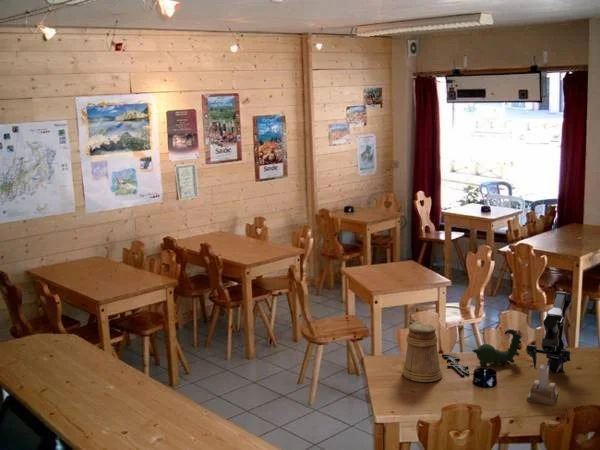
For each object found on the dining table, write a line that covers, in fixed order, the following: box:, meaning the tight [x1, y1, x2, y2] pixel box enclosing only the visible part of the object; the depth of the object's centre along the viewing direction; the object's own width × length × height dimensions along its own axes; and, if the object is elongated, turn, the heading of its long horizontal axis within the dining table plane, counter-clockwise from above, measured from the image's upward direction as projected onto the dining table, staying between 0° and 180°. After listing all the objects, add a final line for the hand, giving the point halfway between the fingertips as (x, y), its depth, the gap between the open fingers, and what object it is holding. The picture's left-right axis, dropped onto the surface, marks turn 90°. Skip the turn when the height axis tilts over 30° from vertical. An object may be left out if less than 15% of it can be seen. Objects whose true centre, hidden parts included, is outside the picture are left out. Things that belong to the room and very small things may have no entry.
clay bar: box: [538, 363, 550, 391], centre depth 315 cm, size 4×3×13 cm, turn 151°
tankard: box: [402, 317, 443, 383], centre depth 342 cm, size 18×24×25 cm
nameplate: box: [441, 353, 470, 378], centre depth 353 cm, size 27×2×10 cm
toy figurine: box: [472, 328, 522, 368], centre depth 352 cm, size 9×19×25 cm
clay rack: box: [526, 379, 559, 406], centre depth 316 cm, size 12×11×6 cm
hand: (545, 370), depth 318 cm, fingers open, 9 cm apart
